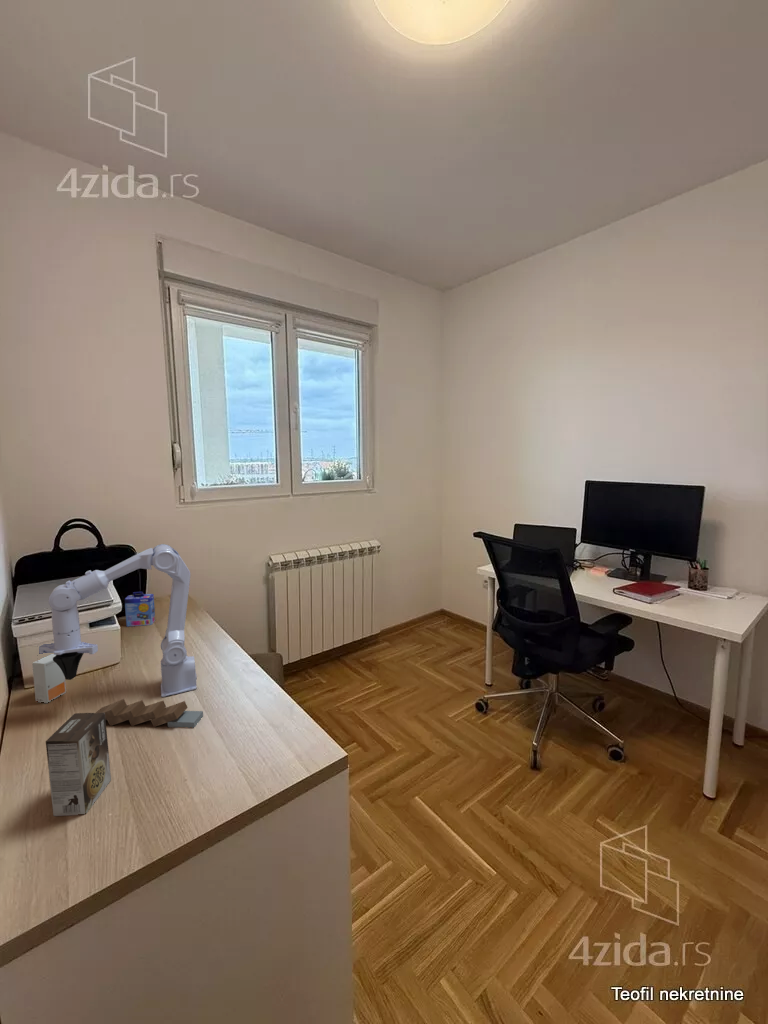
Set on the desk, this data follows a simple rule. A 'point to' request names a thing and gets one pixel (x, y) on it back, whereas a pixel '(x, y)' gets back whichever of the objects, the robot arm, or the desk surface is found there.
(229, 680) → the desk surface
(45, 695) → the skincare box
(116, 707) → the domino
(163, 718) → the domino
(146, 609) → the ink cartridge box
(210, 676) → the desk surface
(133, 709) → the domino
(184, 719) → the domino
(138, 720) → the domino
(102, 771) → the coffee box
